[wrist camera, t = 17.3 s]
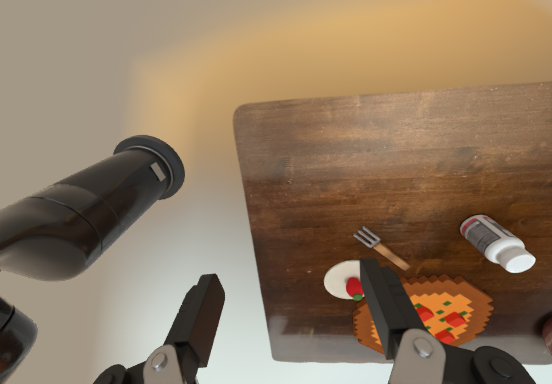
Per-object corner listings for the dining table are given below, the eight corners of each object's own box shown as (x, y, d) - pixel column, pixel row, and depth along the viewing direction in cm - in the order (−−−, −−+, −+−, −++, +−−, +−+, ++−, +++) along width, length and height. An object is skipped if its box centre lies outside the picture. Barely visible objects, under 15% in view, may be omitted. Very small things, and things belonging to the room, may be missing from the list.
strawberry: (352, 289, 53) (357, 306, 49) (340, 281, 52) (344, 298, 48) (365, 280, 51) (371, 297, 47) (353, 272, 50) (358, 289, 46)
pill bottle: (459, 239, 44) (500, 279, 36) (458, 219, 42) (501, 256, 34) (489, 231, 43) (539, 271, 35) (490, 210, 41) (543, 247, 32)
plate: (350, 304, 56) (350, 305, 56) (312, 281, 53) (312, 282, 52) (392, 278, 51) (393, 279, 50) (353, 250, 47) (354, 252, 47)
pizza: (427, 254, 47) (435, 265, 44) (513, 311, 54) (525, 324, 51) (328, 323, 60) (330, 334, 58) (408, 361, 68) (413, 373, 65)
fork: (410, 261, 48) (413, 265, 47) (399, 268, 49) (402, 272, 48) (363, 225, 44) (365, 229, 43) (352, 234, 45) (354, 238, 44)
